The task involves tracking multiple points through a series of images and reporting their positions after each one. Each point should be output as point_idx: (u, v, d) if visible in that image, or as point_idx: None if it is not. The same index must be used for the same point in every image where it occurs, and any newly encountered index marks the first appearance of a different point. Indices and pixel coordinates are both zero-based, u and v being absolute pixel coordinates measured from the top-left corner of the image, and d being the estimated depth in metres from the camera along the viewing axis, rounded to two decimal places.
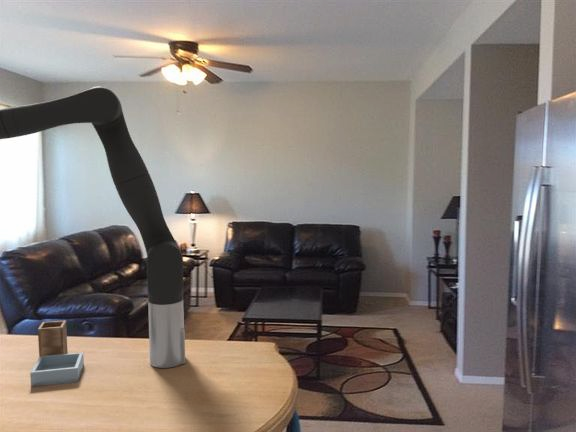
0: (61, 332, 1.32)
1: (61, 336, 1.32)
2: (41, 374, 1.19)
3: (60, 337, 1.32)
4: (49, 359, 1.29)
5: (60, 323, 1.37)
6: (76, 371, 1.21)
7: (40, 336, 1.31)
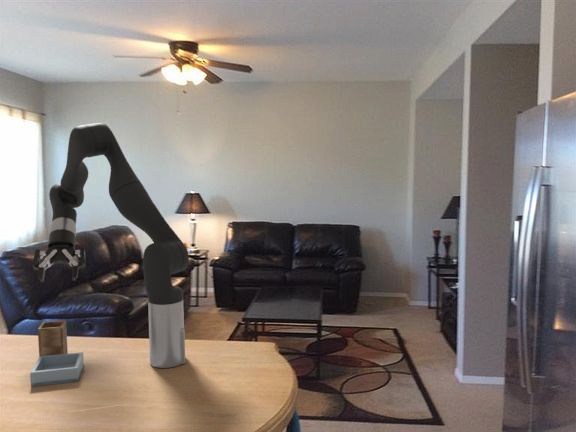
0: (61, 332, 1.32)
1: (61, 336, 1.32)
2: (41, 374, 1.19)
3: (60, 337, 1.32)
4: (49, 359, 1.29)
5: (60, 323, 1.37)
6: (76, 371, 1.21)
7: (40, 336, 1.31)
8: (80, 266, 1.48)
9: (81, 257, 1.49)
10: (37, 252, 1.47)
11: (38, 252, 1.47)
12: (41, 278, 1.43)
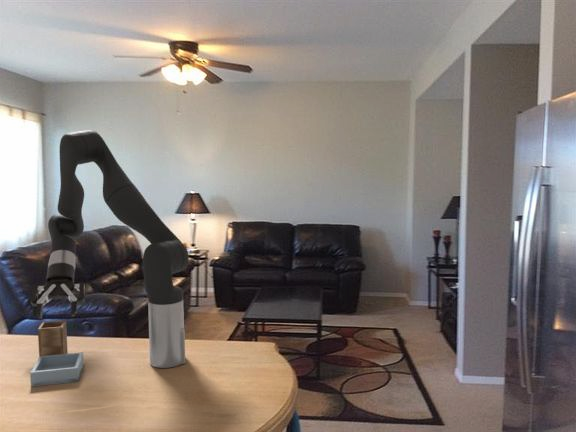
0: (61, 332, 1.32)
1: (61, 336, 1.32)
2: (41, 374, 1.19)
3: (60, 337, 1.32)
4: (49, 359, 1.29)
5: (60, 323, 1.37)
6: (76, 371, 1.21)
7: (40, 336, 1.31)
8: (79, 301, 1.44)
9: (80, 292, 1.44)
10: (35, 287, 1.43)
11: (36, 287, 1.43)
12: (39, 315, 1.38)
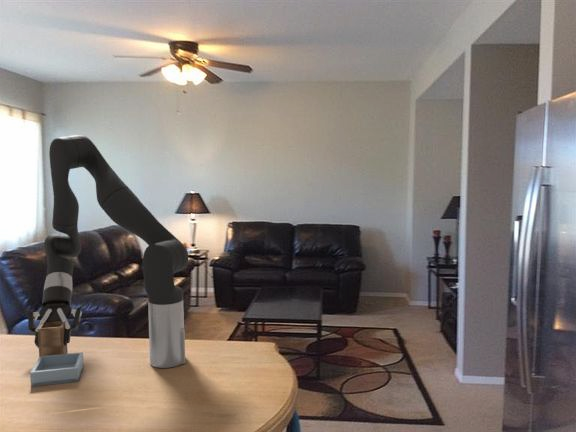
0: (61, 332, 1.32)
1: (61, 336, 1.32)
2: (41, 374, 1.19)
3: (60, 337, 1.32)
4: (49, 359, 1.29)
5: (60, 323, 1.37)
6: (76, 371, 1.21)
7: (40, 336, 1.31)
8: (72, 329, 1.37)
9: (75, 319, 1.38)
10: (31, 314, 1.36)
11: (31, 314, 1.36)
12: (38, 344, 1.32)
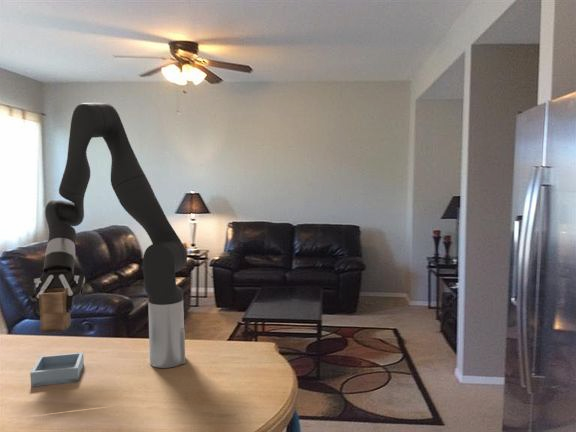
0: (63, 298, 1.25)
1: (63, 302, 1.25)
2: (41, 374, 1.19)
3: (62, 303, 1.25)
4: (49, 359, 1.29)
5: (62, 290, 1.30)
6: (76, 371, 1.21)
7: (41, 302, 1.24)
8: (75, 296, 1.30)
9: (78, 285, 1.31)
10: (32, 280, 1.29)
11: (32, 280, 1.29)
12: (39, 311, 1.25)
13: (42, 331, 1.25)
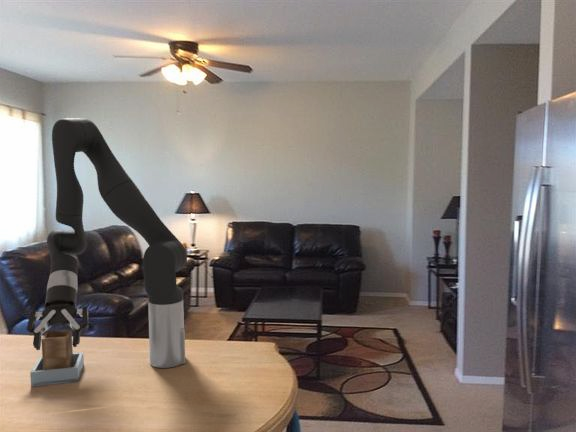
0: (67, 342, 1.22)
1: (67, 346, 1.23)
2: (41, 374, 1.19)
3: (65, 347, 1.23)
4: None
5: (65, 332, 1.27)
6: (76, 371, 1.21)
7: (44, 347, 1.21)
8: (82, 329, 1.27)
9: (83, 318, 1.28)
10: (33, 313, 1.27)
11: (33, 313, 1.26)
12: (37, 346, 1.22)
13: None
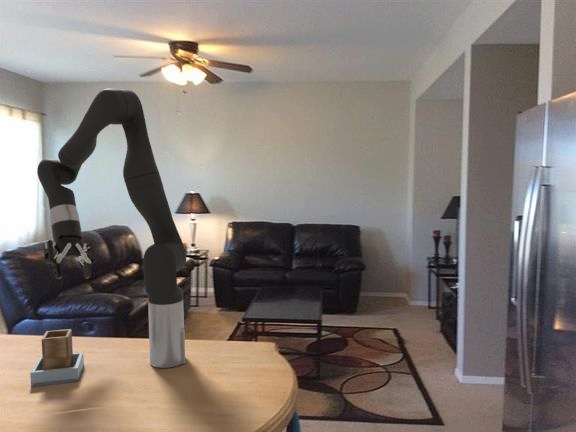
0: (67, 342, 1.22)
1: (67, 346, 1.23)
2: (41, 374, 1.19)
3: (65, 347, 1.23)
4: None
5: (65, 332, 1.27)
6: (76, 371, 1.21)
7: (44, 347, 1.21)
8: (90, 263, 1.42)
9: (92, 254, 1.42)
10: (51, 243, 1.33)
11: (51, 244, 1.33)
12: (61, 276, 1.32)
13: None
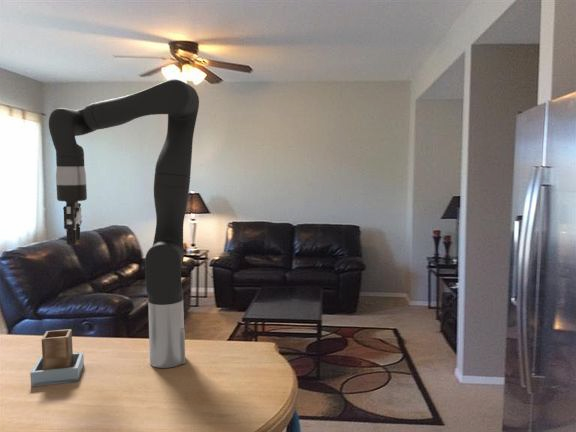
0: (67, 342, 1.22)
1: (67, 346, 1.23)
2: (41, 374, 1.19)
3: (65, 347, 1.23)
4: None
5: (65, 332, 1.27)
6: (76, 371, 1.21)
7: (44, 347, 1.21)
8: None
9: None
10: (73, 210, 1.30)
11: (74, 210, 1.30)
12: None
13: None
